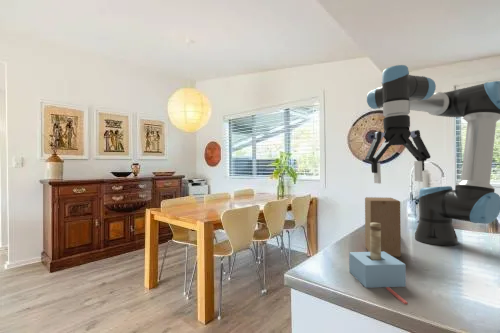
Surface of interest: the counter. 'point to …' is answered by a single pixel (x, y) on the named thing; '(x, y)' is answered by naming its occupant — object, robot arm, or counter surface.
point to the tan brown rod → (375, 241)
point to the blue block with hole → (377, 270)
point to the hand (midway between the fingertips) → (398, 182)
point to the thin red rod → (396, 295)
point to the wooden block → (384, 223)
